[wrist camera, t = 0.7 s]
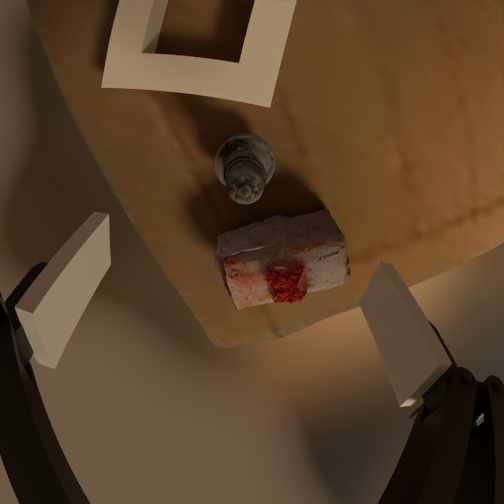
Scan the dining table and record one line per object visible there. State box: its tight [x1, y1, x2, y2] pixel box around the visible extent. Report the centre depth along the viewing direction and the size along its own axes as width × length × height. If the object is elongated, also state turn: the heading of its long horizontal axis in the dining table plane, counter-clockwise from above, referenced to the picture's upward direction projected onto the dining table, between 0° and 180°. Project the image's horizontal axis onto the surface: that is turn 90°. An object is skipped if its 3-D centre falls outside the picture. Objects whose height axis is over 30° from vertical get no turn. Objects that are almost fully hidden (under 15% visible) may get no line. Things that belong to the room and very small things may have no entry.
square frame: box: [102, 0, 297, 108], centre depth 21 cm, size 16×16×4 cm
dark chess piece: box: [214, 133, 275, 204], centre depth 26 cm, size 6×6×12 cm
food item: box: [213, 208, 351, 310], centre depth 32 cm, size 14×8×10 cm, turn 106°
